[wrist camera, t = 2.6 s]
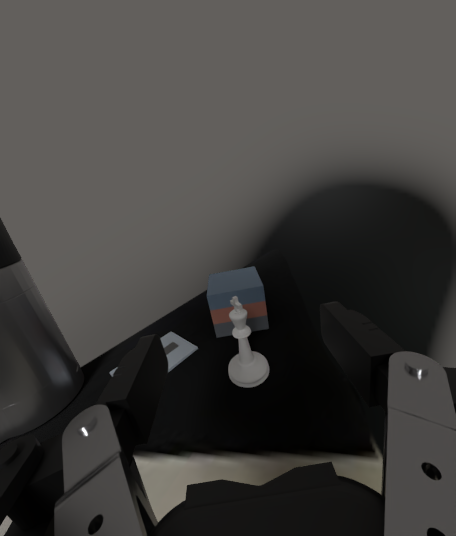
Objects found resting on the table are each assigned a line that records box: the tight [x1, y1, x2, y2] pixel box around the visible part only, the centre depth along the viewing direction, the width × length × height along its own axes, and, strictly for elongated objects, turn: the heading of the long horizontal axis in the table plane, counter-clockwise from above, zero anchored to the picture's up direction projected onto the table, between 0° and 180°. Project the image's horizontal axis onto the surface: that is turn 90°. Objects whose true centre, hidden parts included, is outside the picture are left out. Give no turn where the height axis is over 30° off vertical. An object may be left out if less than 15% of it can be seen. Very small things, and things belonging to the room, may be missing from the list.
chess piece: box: [228, 296, 269, 388], centre depth 24 cm, size 5×5×10 cm
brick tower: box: [207, 266, 269, 338], centre depth 35 cm, size 8×8×7 cm
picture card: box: [109, 332, 198, 377], centre depth 30 cm, size 10×7×1 cm
